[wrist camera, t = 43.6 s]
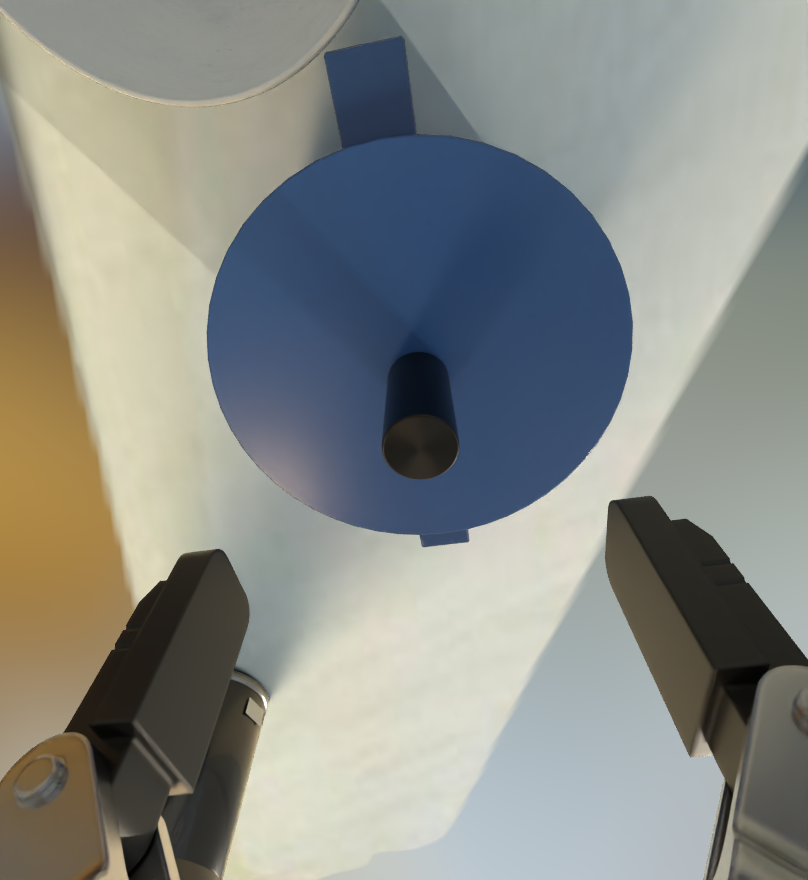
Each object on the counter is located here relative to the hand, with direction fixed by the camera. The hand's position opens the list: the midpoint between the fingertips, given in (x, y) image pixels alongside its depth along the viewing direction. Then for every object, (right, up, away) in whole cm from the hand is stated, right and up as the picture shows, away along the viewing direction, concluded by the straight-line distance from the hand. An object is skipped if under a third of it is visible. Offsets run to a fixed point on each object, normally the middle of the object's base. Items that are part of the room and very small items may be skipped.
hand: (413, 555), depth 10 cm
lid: (0, +5, +9) cm, 10 cm away
